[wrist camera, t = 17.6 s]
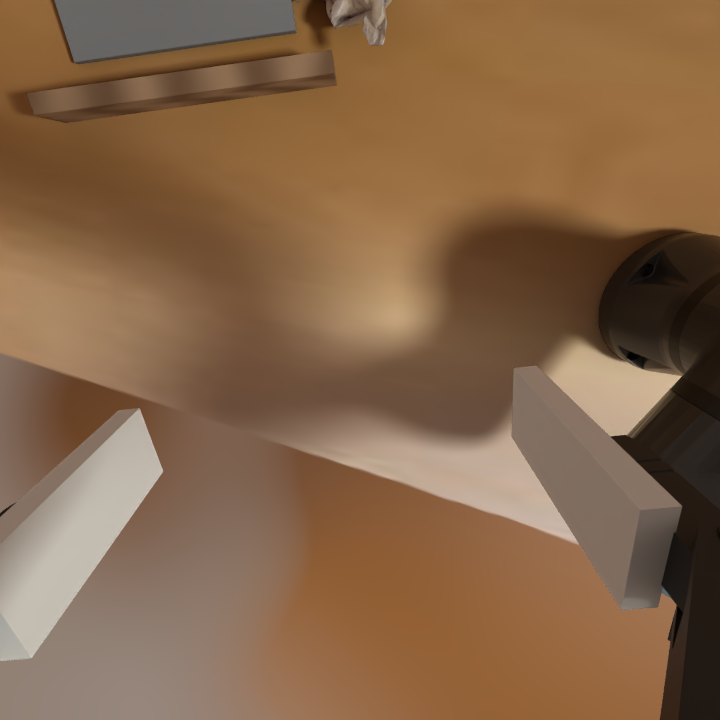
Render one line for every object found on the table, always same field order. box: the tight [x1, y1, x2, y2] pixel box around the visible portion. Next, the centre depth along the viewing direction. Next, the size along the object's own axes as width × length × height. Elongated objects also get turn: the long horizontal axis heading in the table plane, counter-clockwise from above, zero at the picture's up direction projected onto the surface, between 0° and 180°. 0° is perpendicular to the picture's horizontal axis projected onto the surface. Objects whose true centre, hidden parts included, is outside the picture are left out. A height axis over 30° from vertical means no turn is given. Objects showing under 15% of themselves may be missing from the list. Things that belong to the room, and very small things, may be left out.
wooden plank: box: [26, 50, 337, 123], centre depth 35 cm, size 26×2×4 cm, turn 97°
